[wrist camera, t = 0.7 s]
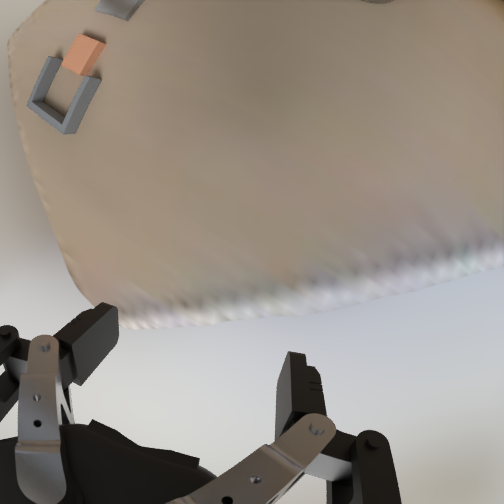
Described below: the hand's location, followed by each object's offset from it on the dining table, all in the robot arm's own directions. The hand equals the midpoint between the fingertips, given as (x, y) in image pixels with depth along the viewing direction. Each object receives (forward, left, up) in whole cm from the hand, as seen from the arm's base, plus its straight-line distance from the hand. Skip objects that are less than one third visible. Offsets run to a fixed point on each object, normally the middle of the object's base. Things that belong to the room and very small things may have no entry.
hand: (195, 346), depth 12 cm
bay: (-1, -32, -21) cm, 38 cm away
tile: (-6, -32, -21) cm, 39 cm away
